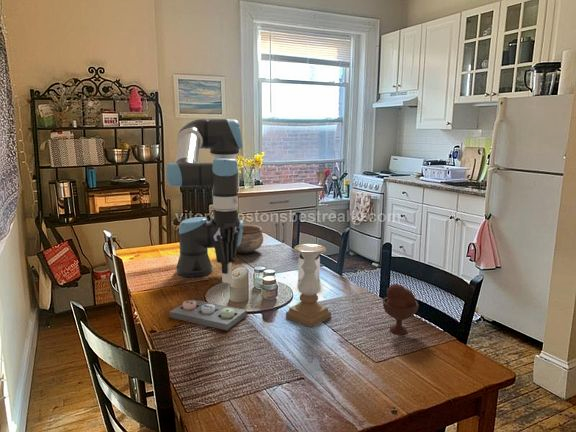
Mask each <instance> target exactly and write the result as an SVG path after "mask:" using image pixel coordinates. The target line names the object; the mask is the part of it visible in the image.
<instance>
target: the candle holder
mask: <svg viewBox="0 0 576 432" xmlns="http://www.w3.org/2000/svg"><path fill="white" fill-rule="evenodd" d="M326 249H327V248H326V247H325V246H324V245H320V244H315V243H303V244H301V243H300V244H297V245H295V246H294V247H293V250H294V252H295V253H296V254H302V256H303V258H304V263H303V265H302V269H303V271H304V276H303V278H302V279H301V280H299V283H298V285H297V290H298V292H299V293H301V294H300V295H299V302H298V303H296V304H295V305H293V306H291V307H289V309H288V311H286V312H285V318H286V319H289V320H291V321H294V322H295V323H298V324H301V325H303V326H306V327H308V328H312V327H314V326H316V325H319V324H321V323H323V322H325V321H327V320H329V319H330V318H332V312H331V311H329V308H328V307H327V306H324V305H322V304H320V303H319V302H318V300H319V296H318V293H319V292H320V290H321V285H320V282H319V279H318V280H317V279H316V277H315V274H314V273H315V271H316V269H317V265H316V263H315V259H316V257H317V256H318V254H319V255H322V254H324V253H325V252H326V251H327V250H326Z"/></svg>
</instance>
